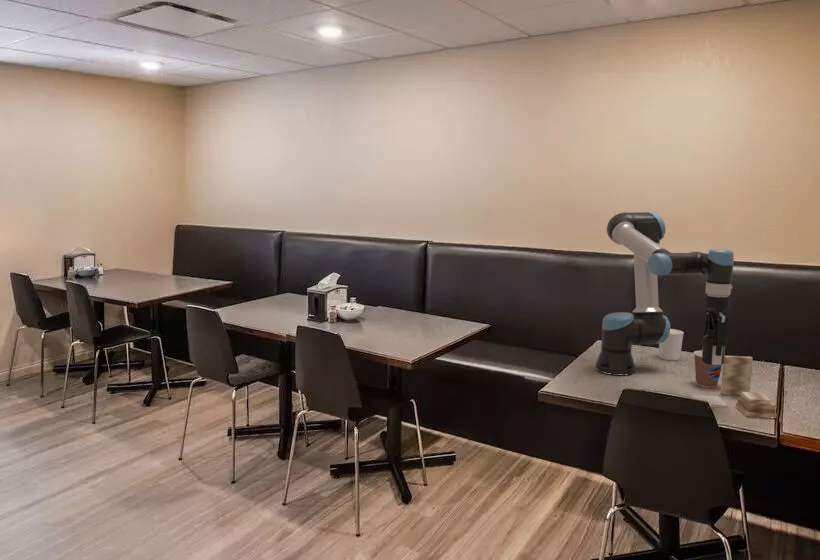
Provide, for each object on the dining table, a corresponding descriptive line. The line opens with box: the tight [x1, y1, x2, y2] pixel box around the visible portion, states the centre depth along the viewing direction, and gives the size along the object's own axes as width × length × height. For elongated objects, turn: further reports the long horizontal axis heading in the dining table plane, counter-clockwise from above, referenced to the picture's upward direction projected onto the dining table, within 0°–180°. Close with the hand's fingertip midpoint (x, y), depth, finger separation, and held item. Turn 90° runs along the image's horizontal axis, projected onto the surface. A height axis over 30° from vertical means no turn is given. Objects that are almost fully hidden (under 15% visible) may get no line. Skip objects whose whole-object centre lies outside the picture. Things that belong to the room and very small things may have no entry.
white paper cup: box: [658, 328, 684, 361], centre depth 254 cm, size 10×10×12 cm
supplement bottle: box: [701, 327, 726, 366], centre depth 198 cm, size 7×7×12 cm
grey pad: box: [690, 394, 729, 409], centre depth 201 cm, size 9×9×1 cm
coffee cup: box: [693, 350, 723, 389], centre depth 218 cm, size 10×10×12 cm
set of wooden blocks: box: [720, 355, 778, 419], centre depth 197 cm, size 9×23×14 cm, turn 171°
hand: (712, 361), depth 198 cm, fingers closed on supplement bottle, 7 cm apart
